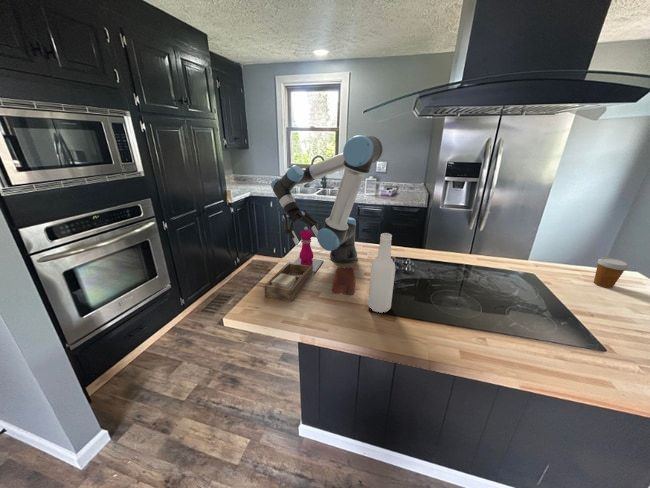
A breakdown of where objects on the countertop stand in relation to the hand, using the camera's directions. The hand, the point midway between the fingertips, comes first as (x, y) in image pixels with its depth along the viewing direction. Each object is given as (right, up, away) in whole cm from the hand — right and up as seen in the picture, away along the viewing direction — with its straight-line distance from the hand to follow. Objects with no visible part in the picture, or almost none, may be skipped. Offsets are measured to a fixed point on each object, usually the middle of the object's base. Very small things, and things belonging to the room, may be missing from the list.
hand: (308, 240), depth 131 cm
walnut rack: (-8, -20, -12) cm, 25 cm away
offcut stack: (-9, -22, -17) cm, 29 cm away
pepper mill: (-1, -12, +6) cm, 14 cm away
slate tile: (-1, -13, +7) cm, 15 cm away
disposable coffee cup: (+136, -21, -9) cm, 138 cm away
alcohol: (+29, -27, -27) cm, 48 cm away
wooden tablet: (+17, -19, -7) cm, 27 cm away
